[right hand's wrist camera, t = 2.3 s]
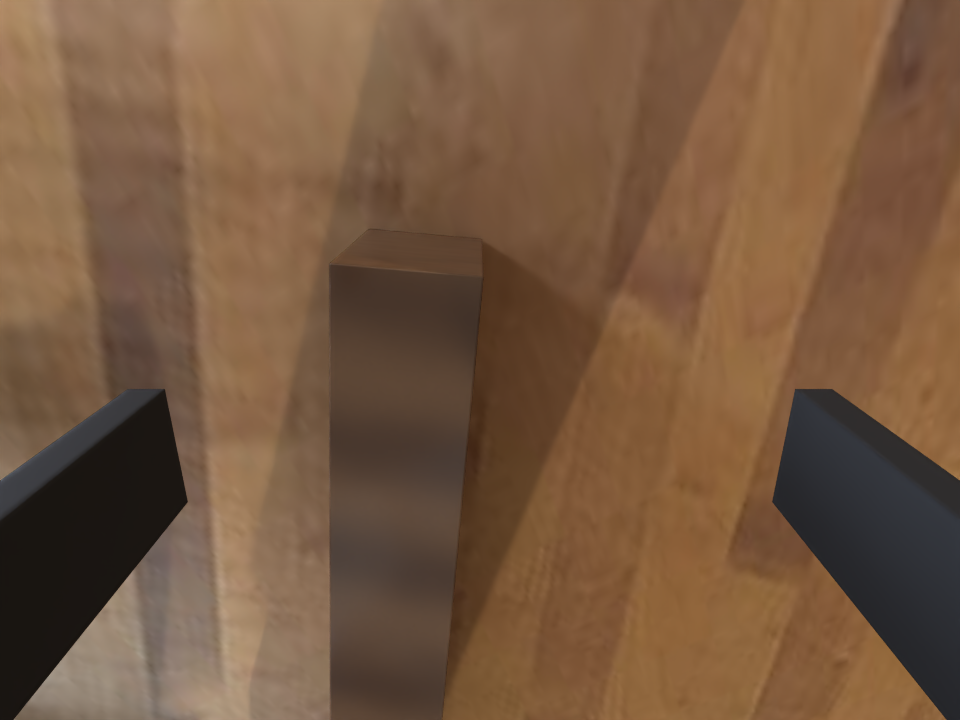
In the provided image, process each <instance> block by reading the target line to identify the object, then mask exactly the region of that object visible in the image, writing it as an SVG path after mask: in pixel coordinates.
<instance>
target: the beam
mask: <svg viewBox="0 0 960 720" xmlns="http://www.w3.org/2000/svg"><path fill="white" fill-rule="evenodd" d="M482 288H483V247H482V239H475V238H464V237H453V236H441V235H430V234H419V233H408V232H397V231H386V230H375V229H368V230H367V231H366V232H365V233H364V234H363V235H361V236H360V237H359V238H358V239H357V240H356V241H355V242H353V243H352V244H351V245H350V246H349V247H348V248H347V249H345V250H344V251H343V252H342V253H341V254H340V255H339V256H337V257H336V258H335V259H334V260H333V261H332V262H331V263H330V264H329V414H330V720H442V716H443V705H444V694H445V684H446V673H447V662H448V652H449V641H450V630H451V620H452V609H453V598H454V587H455V577H456V566H457V555H458V545H459V534H460V523H461V512H462V502H463V491H464V480H465V470H466V459H467V448H468V438H469V427H470V416H471V405H472V395H473V384H474V373H475V363H476V352H477V341H478V330H479V320H480V309H481V298H482Z"/></svg>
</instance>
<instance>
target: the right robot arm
mask: <svg viewBox="0 0 960 720" xmlns="http://www.w3.org/2000/svg"><path fill="white" fill-rule="evenodd" d="M187 502H188V501H187V496H186V491H185V486H184V481H183V476H182V472H181V467H180V462H179V457H178V452H177V447H176V442H175V437H174V432H173V427H172V423H171V418H170V413H169V408H168V403H167V398H166V393H165V389H127V390H126V391H125V392H123V393H122V394H120V395H119V396H118V397H116V398H115V399H113V400H112V401H111V402H109V403H108V404H106V405H105V406H104V407H102V408H101V409H100V410H98V411H97V412H95V413H94V414H93V415H91V416H90V417H88V418H87V419H86V420H84V421H83V422H81V423H80V424H79V425H77V426H76V427H74V428H73V429H72V430H70V431H69V432H67V433H66V434H65V435H63V436H62V437H60V438H59V439H58V440H56V441H55V442H53V443H52V444H51V445H49V446H48V447H46V448H45V449H44V450H42V451H41V452H39V453H38V454H37V455H35V456H34V457H32V458H31V459H30V460H28V461H27V462H26V463H24V464H23V465H21V466H20V467H19V468H17V469H16V470H14V471H13V472H12V473H10V474H9V475H7V476H6V477H5V478H3V479H2V480H0V720H14V718H15V717H16V716H17V715H18V713H19V712H20V711H21V710H22V708H23V707H24V706H25V705H26V703H27V702H28V701H29V700H30V698H31V697H32V696H33V695H34V693H35V692H36V691H37V690H38V688H39V687H40V686H41V685H42V683H43V682H44V681H45V680H46V678H47V677H48V676H49V675H50V673H51V672H52V671H53V670H54V668H55V667H56V666H57V665H58V663H59V662H60V661H61V660H62V658H63V657H64V656H65V655H66V653H67V652H68V651H69V650H70V648H71V647H72V646H73V645H74V643H75V642H76V641H77V640H78V638H79V637H80V636H81V635H82V633H83V632H84V631H85V630H86V628H87V627H88V626H89V625H90V623H91V622H92V621H93V620H94V618H95V617H96V616H97V615H98V613H99V612H100V611H101V610H102V608H103V607H104V606H105V605H106V603H107V602H108V601H109V600H110V598H111V597H112V596H113V595H114V593H115V592H116V591H117V590H118V588H119V587H120V586H121V585H122V583H123V582H124V581H125V580H126V578H127V577H128V576H129V575H130V573H131V572H132V571H133V570H134V568H135V567H136V566H137V565H138V563H139V562H140V561H141V560H142V558H143V557H144V556H145V555H146V553H147V552H148V551H149V550H150V548H151V547H152V546H153V545H154V543H155V542H156V541H157V540H158V538H159V537H160V536H161V535H162V533H163V532H164V531H165V530H166V528H167V527H168V526H169V525H170V523H171V522H172V521H173V520H174V518H175V517H176V516H177V515H178V513H179V512H180V511H181V510H182V508H183V507H184V506H185V505H186V503H187ZM772 502H773V503H774V505H775V506H776V507H777V508H778V510H779V511H780V512H781V513H782V515H783V516H784V517H785V518H786V520H787V521H788V522H789V523H790V525H791V526H792V527H793V528H794V530H795V531H796V532H797V533H798V535H799V536H800V537H801V538H802V540H803V541H804V542H805V543H806V545H807V546H808V547H809V548H810V550H811V551H812V552H813V553H814V555H815V556H816V557H817V558H818V560H819V561H820V562H821V563H822V565H823V566H824V567H825V568H826V570H827V571H828V572H829V573H830V575H831V576H832V577H833V578H834V580H835V581H836V582H837V583H838V585H839V586H840V587H841V588H842V590H843V591H844V592H845V593H846V595H847V596H848V597H849V598H850V600H851V601H852V602H853V603H854V605H855V606H856V607H857V608H858V610H859V611H860V612H861V613H862V615H863V616H864V617H865V618H866V620H867V621H868V622H869V623H870V625H871V626H872V627H873V628H874V630H875V631H876V632H877V633H878V635H879V636H880V637H881V638H882V640H883V641H884V642H885V643H886V645H887V646H888V647H889V648H890V650H891V651H892V652H893V653H894V655H895V656H896V657H897V658H898V660H899V661H900V662H901V663H902V665H903V666H904V667H905V668H906V670H907V671H908V672H909V673H910V675H911V676H912V677H913V678H914V680H915V681H916V682H917V683H918V685H919V686H920V687H921V688H922V690H923V691H924V692H925V693H926V695H927V696H928V697H929V698H930V700H931V701H932V702H933V703H934V705H935V706H936V707H937V708H938V710H939V711H940V712H941V713H942V715H943V716H944V717H945V718H946V720H960V480H958V479H957V478H955V477H954V476H953V475H951V474H950V473H948V472H947V471H946V470H944V469H943V468H941V467H940V466H939V465H937V464H936V463H934V462H933V461H932V460H930V459H929V458H928V457H926V456H925V455H923V454H922V453H921V452H919V451H918V450H916V449H915V448H914V447H912V446H911V445H909V444H908V443H907V442H905V441H904V440H902V439H901V438H900V437H898V436H897V435H895V434H894V433H893V432H891V431H890V430H888V429H887V428H886V427H884V426H883V425H881V424H880V423H879V422H877V421H876V420H874V419H873V418H872V417H870V416H869V415H867V414H866V413H865V412H863V411H862V410H860V409H859V408H858V407H856V406H855V405H853V404H852V403H851V402H849V401H848V400H847V399H845V398H844V397H842V396H841V395H840V394H838V393H837V392H835V391H834V390H833V389H795V393H794V398H793V403H792V408H791V413H790V418H789V423H788V427H787V432H786V437H785V442H784V447H783V452H782V457H781V462H780V467H779V472H778V476H777V481H776V486H775V491H774V496H773V501H772Z"/></svg>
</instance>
